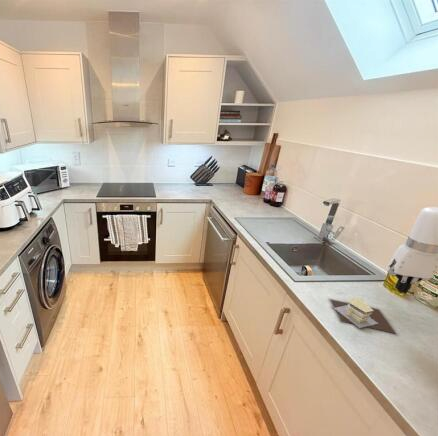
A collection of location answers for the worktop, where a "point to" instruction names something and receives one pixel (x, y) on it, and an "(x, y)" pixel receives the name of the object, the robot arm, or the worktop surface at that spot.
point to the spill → (375, 315)
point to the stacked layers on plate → (357, 313)
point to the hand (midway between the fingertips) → (400, 290)
